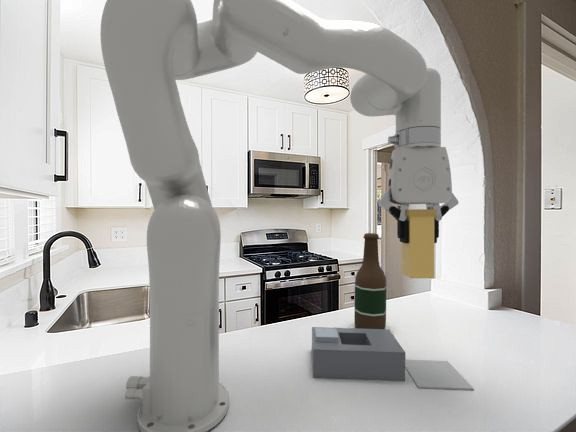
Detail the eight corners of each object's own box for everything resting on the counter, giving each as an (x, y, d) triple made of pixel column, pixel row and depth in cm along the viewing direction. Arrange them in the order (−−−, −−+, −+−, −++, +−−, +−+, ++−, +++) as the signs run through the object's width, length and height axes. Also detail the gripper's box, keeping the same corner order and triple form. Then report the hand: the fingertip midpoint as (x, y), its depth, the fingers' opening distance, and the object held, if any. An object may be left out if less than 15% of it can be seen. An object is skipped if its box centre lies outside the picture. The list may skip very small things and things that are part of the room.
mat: (418, 388, 49) (418, 386, 49) (400, 360, 58) (400, 359, 58) (473, 390, 49) (473, 388, 49) (447, 362, 58) (447, 360, 58)
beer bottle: (382, 323, 78) (383, 232, 77) (389, 335, 70) (391, 235, 70) (352, 321, 79) (353, 232, 78) (356, 334, 71) (357, 234, 70)
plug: (409, 278, 52) (409, 209, 52) (399, 272, 57) (399, 209, 56) (436, 278, 52) (436, 209, 51) (425, 272, 57) (425, 209, 56)
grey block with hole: (313, 377, 52) (313, 343, 52) (311, 350, 62) (311, 322, 62) (405, 380, 51) (405, 346, 51) (388, 353, 61) (389, 324, 61)
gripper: (376, 138, 50) (376, 245, 51) (477, 136, 50) (476, 244, 50) (366, 147, 58) (366, 240, 58) (453, 145, 57) (453, 240, 57)
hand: (417, 241), depth 54 cm, fingers closed on plug, 4 cm apart
